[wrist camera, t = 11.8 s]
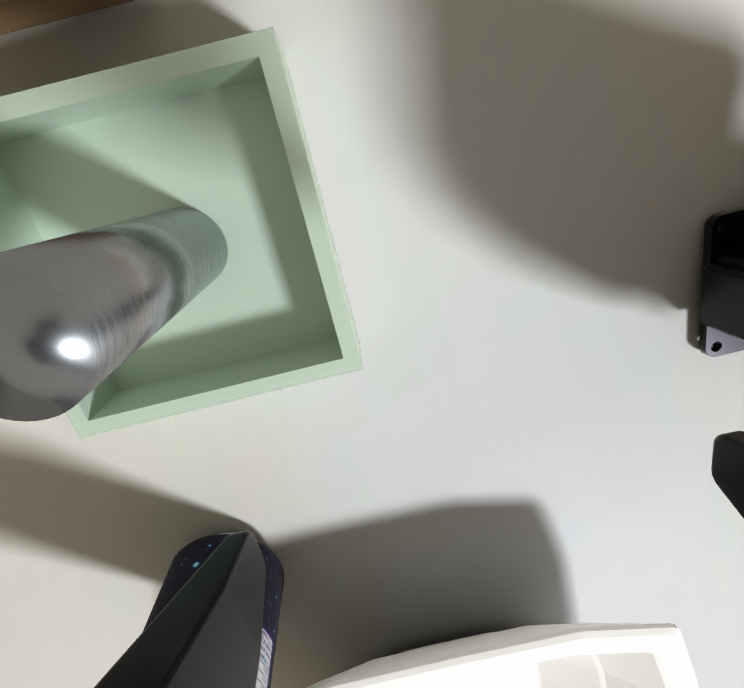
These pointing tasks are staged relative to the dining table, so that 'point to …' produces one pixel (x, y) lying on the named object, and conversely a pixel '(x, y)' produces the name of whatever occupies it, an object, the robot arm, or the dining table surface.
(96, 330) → the cylinder
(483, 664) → the bowl
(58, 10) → the brown square sleeve
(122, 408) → the tray
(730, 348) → the robot arm
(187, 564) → the beverage can
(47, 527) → the dining table surface
